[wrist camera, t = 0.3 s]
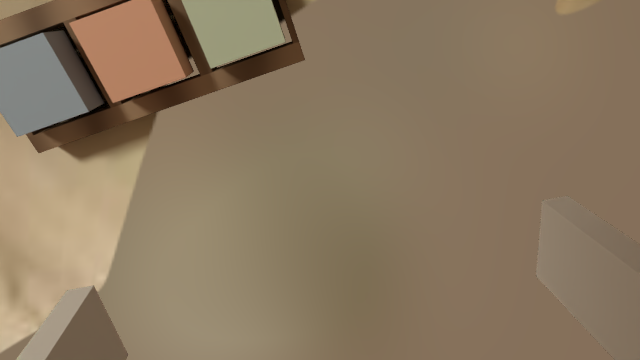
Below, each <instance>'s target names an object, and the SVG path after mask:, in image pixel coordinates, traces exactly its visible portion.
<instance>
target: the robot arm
mask: <svg viewBox="0 0 640 360" xmlns="http://www.w3.org/2000/svg"><path fill="white" fill-rule="evenodd" d="M536 277H537V278H538V279H539V280H540V281H541V282H542V283H543V284H544V285H545V286H546V287H547V288H548V289H549V290H550V292H551V293H552V294H553V295H554V296H555V297H556V298H557V299H558V300H559V301H560V302H561V303H562V304H563V305H564V306H565V308H566V309H567V310H568V311H569V312H570V313H571V314H572V315H573V316H574V317H575V318H576V319H577V320H578V321H579V322H580V324H582V326H583V327H584V328H585V329H586V330H587V331H588V332H589V333H590V334H591V335H592V336H593V337H594V338H595V339H596V340H597V342H599V344H600V345H601V346H602V347H603V348H604V349H605V350H606V351H607V352H608V353H609V354H610V355H611V357H612V358H613V359H614V360H640V244H639V243H637V242H635V241H634V240H633V239H631V238H630V237H628V236H627V235H625V234H624V233H622V232H621V231H620V230H618V229H616V228H615V227H613V226H612V225H611V224H609V223H608V222H606V221H605V220H603V219H601V218H600V217H599V216H597V215H596V214H594V213H593V212H591V211H590V210H588V209H587V208H585V207H584V206H582V205H581V204H579V203H578V202H576V201H575V200H573V199H572V198H570V197H569V196H564V197H559V198H553V199H548V200H543V201H542V210H541V221H540V234H539V246H538V258H537V270H536ZM127 356H128V353H127V351H126V349H125V347H124V346H123V343H122V341H121V339H120V337H119V335H118V333H117V331H116V329H115V327H114V325H113V323H112V321H111V319H110V317H109V316H108V313H107V311H106V309H105V307H104V305H103V303H102V301H101V299H100V297H99V295H98V293H97V291H96V289H95V287H94V285H93V286H88V287H82V288H77V289H72V290H67V291H66V292H65V294H64V295H63V296H62V298H61V299H60V300H59V302H58V303H57V305H56V306H55V307H54V309H53V310H52V311H51V313H50V314H49V315H48V317H47V318H46V320H45V321H44V322H43V324H42V325H41V326H40V328H39V329H38V330H37V332H36V333H35V335H34V336H33V337H32V339H31V340H30V341H29V343H28V344H27V345H26V347H25V348H24V350H23V351H22V352H21V354H20V355H19V356H18V358H17V359H16V360H126V359H127Z"/></svg>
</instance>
